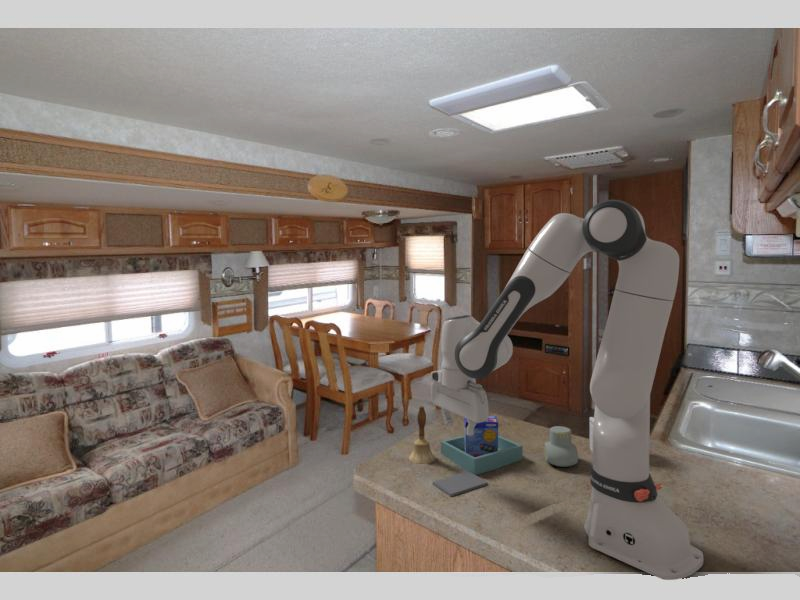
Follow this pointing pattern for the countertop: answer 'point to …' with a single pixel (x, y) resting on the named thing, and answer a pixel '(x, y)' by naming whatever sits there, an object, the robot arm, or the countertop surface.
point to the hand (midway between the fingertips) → (458, 429)
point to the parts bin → (486, 462)
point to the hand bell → (421, 443)
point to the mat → (459, 483)
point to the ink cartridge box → (482, 438)
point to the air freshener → (560, 448)
